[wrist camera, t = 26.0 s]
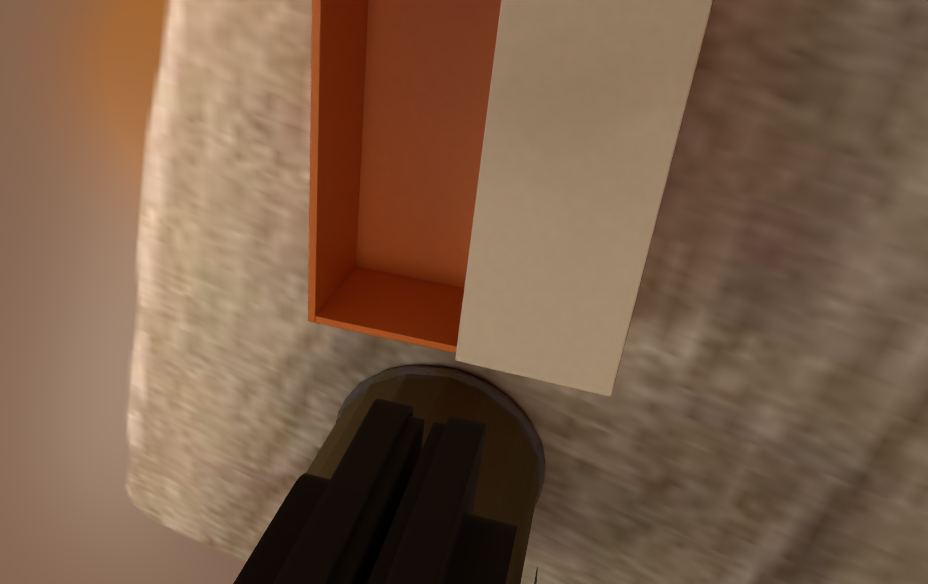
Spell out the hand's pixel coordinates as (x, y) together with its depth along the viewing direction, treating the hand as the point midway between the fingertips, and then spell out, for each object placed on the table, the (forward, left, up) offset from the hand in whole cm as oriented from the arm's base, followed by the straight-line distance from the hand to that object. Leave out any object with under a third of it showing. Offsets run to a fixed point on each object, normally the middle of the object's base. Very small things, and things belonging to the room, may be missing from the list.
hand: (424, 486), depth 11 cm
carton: (0, -2, -19) cm, 19 cm away
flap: (0, +1, -14) cm, 14 cm away
